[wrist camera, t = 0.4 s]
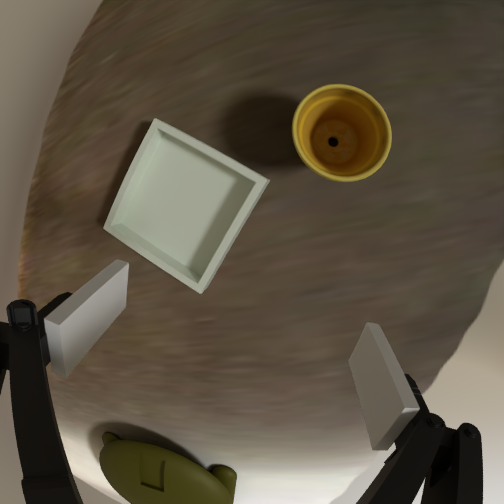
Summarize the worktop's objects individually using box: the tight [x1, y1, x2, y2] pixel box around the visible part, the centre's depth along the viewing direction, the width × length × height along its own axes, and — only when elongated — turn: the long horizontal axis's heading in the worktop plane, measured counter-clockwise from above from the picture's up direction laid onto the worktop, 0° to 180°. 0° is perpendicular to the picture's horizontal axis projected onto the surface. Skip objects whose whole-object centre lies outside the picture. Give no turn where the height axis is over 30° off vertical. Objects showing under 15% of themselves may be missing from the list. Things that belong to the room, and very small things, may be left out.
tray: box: [103, 118, 270, 294], centre depth 41 cm, size 17×17×4 cm
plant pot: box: [292, 84, 392, 182], centre depth 34 cm, size 10×10×10 cm
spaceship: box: [99, 432, 237, 504], centre depth 52 cm, size 35×31×10 cm
